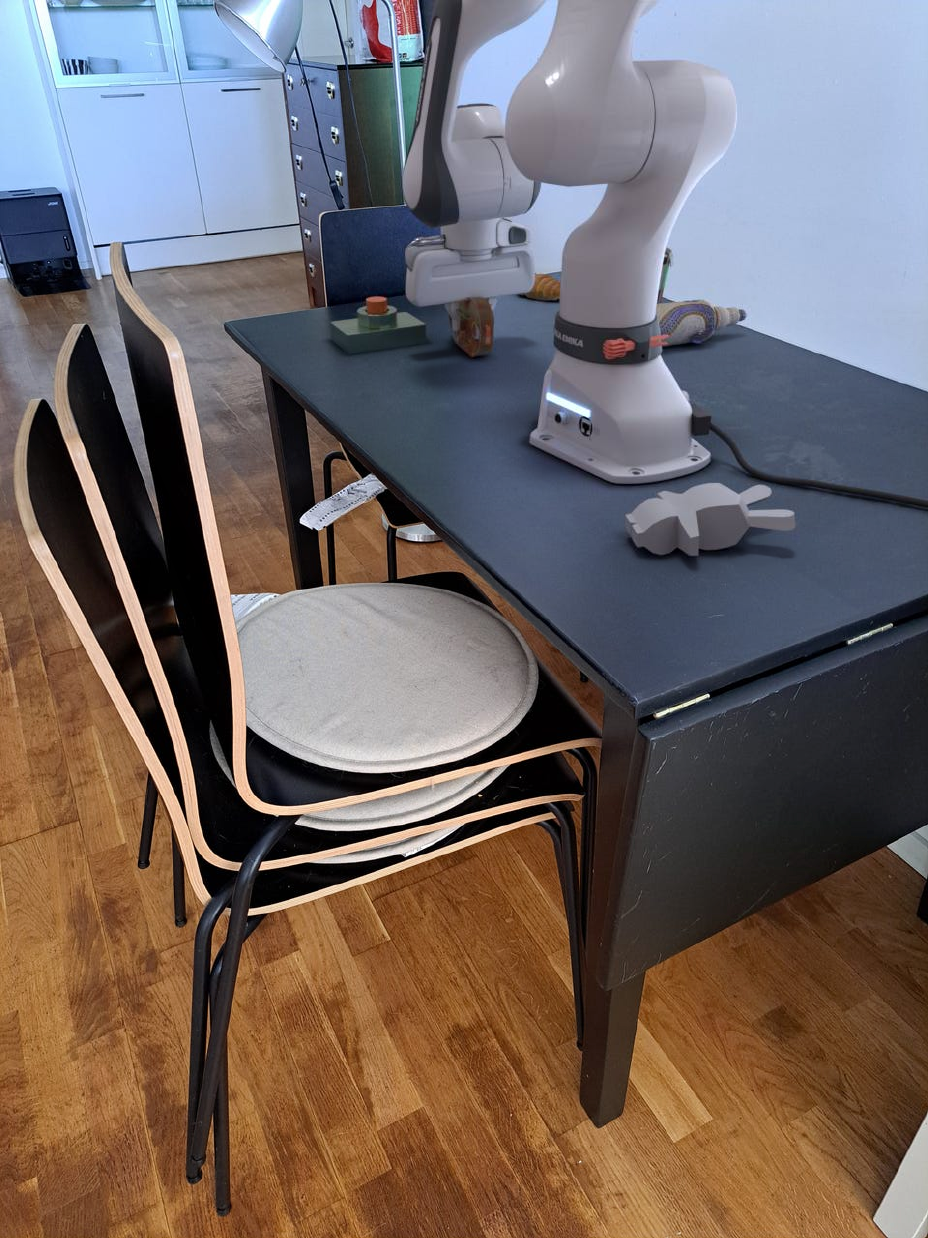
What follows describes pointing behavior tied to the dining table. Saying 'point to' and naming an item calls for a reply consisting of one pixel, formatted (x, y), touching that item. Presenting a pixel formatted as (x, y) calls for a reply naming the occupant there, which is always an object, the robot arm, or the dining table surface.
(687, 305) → the decorative bottle
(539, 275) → the pastry
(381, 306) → the button
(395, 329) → the console
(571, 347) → the robot arm
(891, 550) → the dining table surface
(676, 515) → the bunny figurine
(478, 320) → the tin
